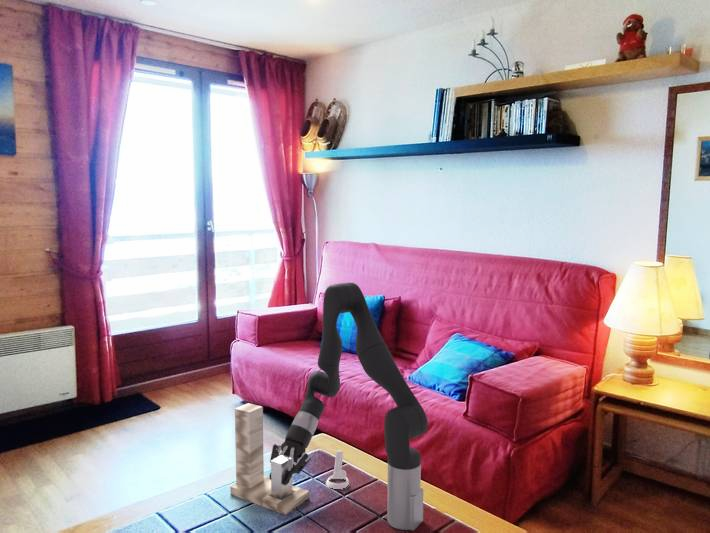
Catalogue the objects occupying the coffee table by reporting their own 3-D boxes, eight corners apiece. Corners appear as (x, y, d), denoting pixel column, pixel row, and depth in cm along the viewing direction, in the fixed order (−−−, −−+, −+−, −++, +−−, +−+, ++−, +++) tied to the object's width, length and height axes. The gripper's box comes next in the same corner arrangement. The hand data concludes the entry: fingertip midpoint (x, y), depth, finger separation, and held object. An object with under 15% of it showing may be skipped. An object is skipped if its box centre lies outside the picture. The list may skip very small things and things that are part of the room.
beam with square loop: (309, 498, 168) (308, 414, 166) (285, 515, 159) (284, 425, 157) (255, 480, 180) (253, 400, 178) (230, 494, 171) (228, 411, 168)
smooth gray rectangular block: (292, 492, 168) (292, 457, 167) (281, 499, 164) (281, 463, 163) (282, 488, 170) (281, 454, 169) (271, 495, 166) (270, 460, 165)
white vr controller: (347, 456, 186) (353, 451, 181) (345, 494, 180) (351, 491, 174) (326, 453, 185) (331, 449, 179) (323, 491, 178) (328, 488, 173)
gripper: (279, 419, 175) (253, 471, 166) (315, 429, 167) (290, 483, 159) (290, 430, 180) (265, 480, 171) (325, 439, 172) (301, 493, 163)
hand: (277, 482), depth 165 cm, fingers closed on smooth gray rectangular block, 4 cm apart
